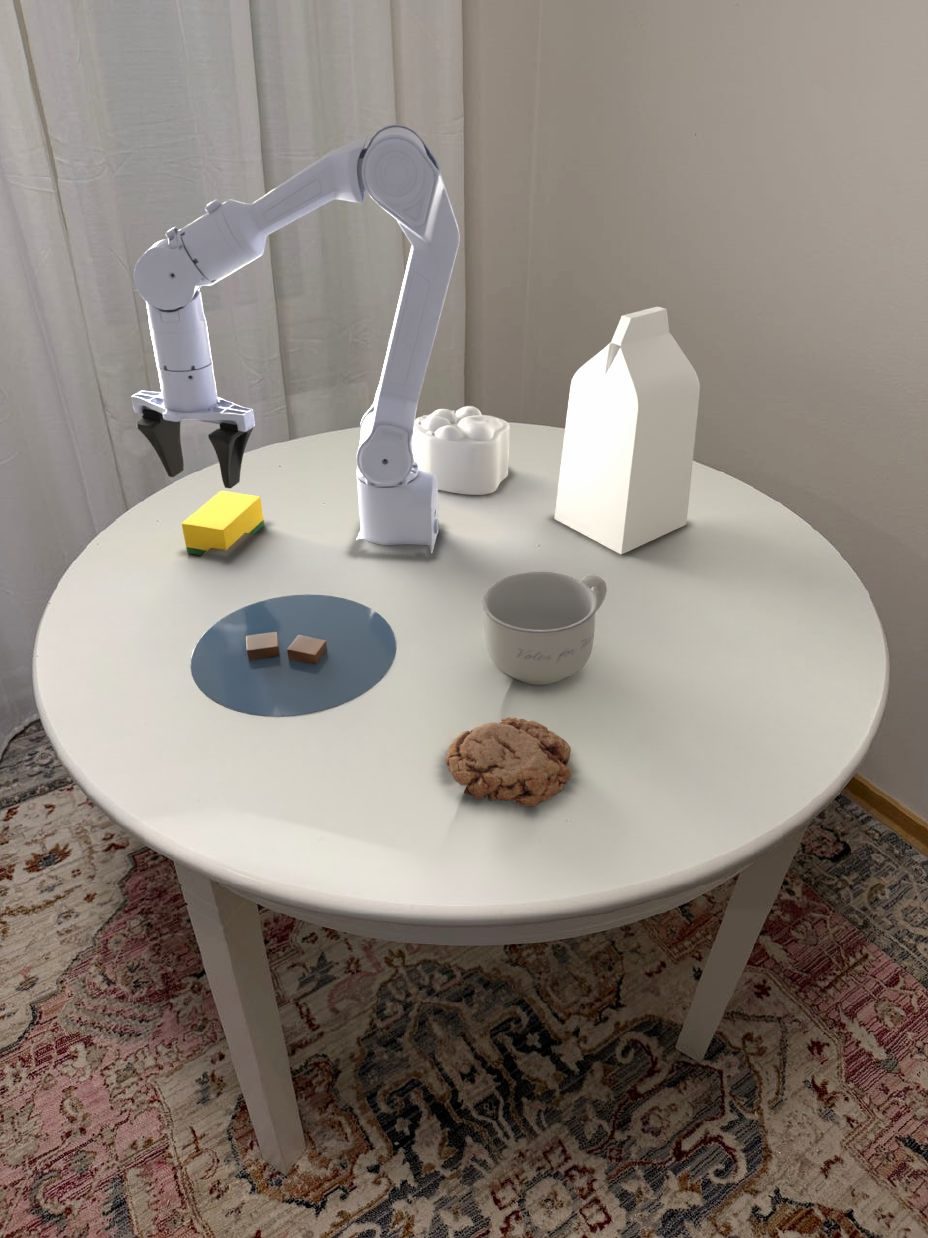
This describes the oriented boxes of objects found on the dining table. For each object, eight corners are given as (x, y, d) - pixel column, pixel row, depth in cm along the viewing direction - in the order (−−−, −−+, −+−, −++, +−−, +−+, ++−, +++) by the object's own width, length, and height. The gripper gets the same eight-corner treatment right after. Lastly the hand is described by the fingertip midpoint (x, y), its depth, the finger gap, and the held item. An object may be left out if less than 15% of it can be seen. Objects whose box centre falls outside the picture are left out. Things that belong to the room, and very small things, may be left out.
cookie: (430, 748, 77) (429, 722, 75) (539, 719, 80) (541, 694, 78) (471, 829, 69) (471, 803, 68) (591, 794, 72) (594, 768, 71)
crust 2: (327, 650, 86) (326, 640, 86) (316, 665, 84) (315, 655, 84) (299, 644, 87) (298, 634, 86) (288, 659, 85) (286, 649, 85)
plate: (411, 611, 95) (411, 600, 94) (376, 736, 78) (375, 724, 77) (231, 599, 96) (229, 588, 96) (160, 719, 80) (157, 707, 79)
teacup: (516, 712, 81) (519, 642, 76) (462, 650, 89) (462, 583, 84) (638, 670, 86) (649, 602, 82) (577, 614, 94) (583, 549, 90)
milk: (621, 554, 105) (647, 334, 90) (554, 518, 112) (568, 310, 97) (686, 524, 111) (721, 314, 96) (619, 492, 118) (641, 292, 103)
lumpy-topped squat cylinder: (488, 498, 116) (490, 437, 111) (399, 482, 120) (397, 422, 115) (514, 467, 124) (516, 409, 119) (429, 453, 128) (428, 396, 123)
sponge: (264, 525, 110) (260, 496, 108) (228, 560, 103) (222, 530, 101) (225, 518, 112) (220, 490, 109) (187, 552, 105) (181, 523, 102)
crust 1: (278, 641, 88) (276, 631, 87) (279, 656, 86) (278, 646, 85) (247, 645, 87) (245, 635, 86) (248, 660, 85) (246, 650, 84)
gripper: (103, 365, 93) (129, 482, 100) (221, 384, 89) (239, 504, 96) (146, 345, 98) (167, 458, 106) (258, 362, 94) (272, 478, 102)
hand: (203, 479), depth 102 cm, fingers open, 7 cm apart
